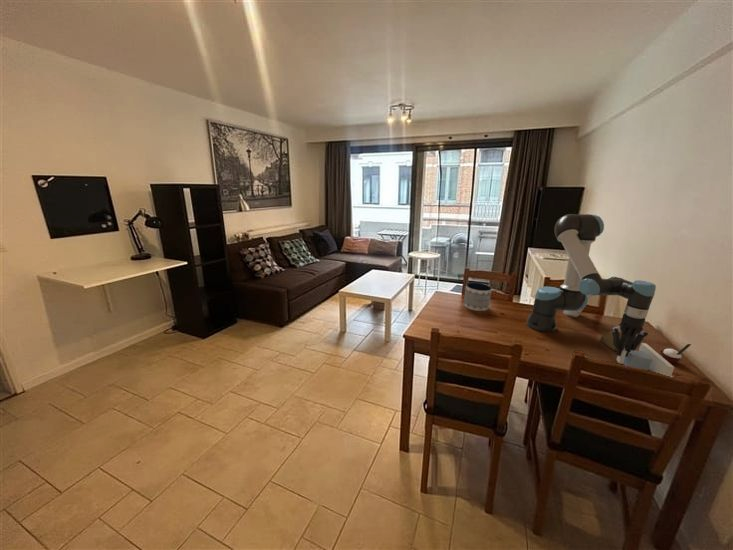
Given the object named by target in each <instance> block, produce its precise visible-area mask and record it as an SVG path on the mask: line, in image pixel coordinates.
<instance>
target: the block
mask: <svg viewBox="0 0 733 550" xmlns="http://www.w3.org/2000/svg"><path fill="white" fill-rule="evenodd" d="M630 351H631V352H629V353H628V356H627V357H625V359H624V362H623V365H624V366H625V367H626V366H629V367H633V368H638V369H645V370H648V371H650V370H649V367H650V365H651V362H652V359H651V358H650V357H649V356H648V355H647V354H646V353H645V352H644V351H639V349H638V350H636V349H635V350H634V351H633V350H630Z"/></svg>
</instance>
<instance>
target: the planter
mask: <svg viewBox="0 0 733 550" xmlns="http://www.w3.org/2000/svg"><path fill="white" fill-rule="evenodd" d="M492 289H493V288H492V287H491V286H490V285H489V284H486V283H481V282H469V283H466V285H465V291H464V299H463V307H464V308H467V309H469V310H471V311H475V312H484V311H487V310H489V308H490V304H491V303H490V301H491V297H492V296H491V295H492Z"/></svg>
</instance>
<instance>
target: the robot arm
mask: <svg viewBox="0 0 733 550" xmlns="http://www.w3.org/2000/svg"><path fill="white" fill-rule="evenodd" d="M604 230H605V224H604V220H603V219H602V218H601V217H600V216H599V215H596V214H585V213H583V214H581V213H580V214H579V213H577V214H575V213H568V214H565V215H563V216H561V217H560V218H559V219H558V220H557V221H556V223H555V225H554V235H555V238H556V240H557V241H558V242H559V243H561V245H562V246H563V248H564V250H565V251H566V254H567V256H568V260H567V266H566V272H565V275H564V281H563V283H562V284H561V285H560V286H559V287H555V286H546V285H545V286H541V287H539V288H538V289H537V290H536V292H535V295H534V297H535V298H534V302H533V307H532V311H531V313H530V315H529V316H528V318H527V319H526V323H525V324H526V325H527V327H529V328H531V329H533V330H536V331H538V332H544V333H552V332H555V331H556V329H557V322H556V314H557V311H560V312H562V311H563V312H564V311H575V310H581V309H583V308H586V306H587V304H588V303H589V302H588V297H587V295H592V296H619V297H621V298H624V299H627V301H626V305H625V308H624V311H623V312H624V313H623V315H622V317H621V320H620V321H621V322H620V323H619V325H617V326H612V327H611V329H612V331H614V346H615V347H616V348H618V350H617V351H616V355H617V356H616V362H617V363H619V364H623V362H624V359H625V357H627V356H628V353H629V352H631V351H630V350H633V351H634V350H636V349H637V348H638V347H639V345H641V343H642V341H643V340H644V338H646V337H647V336H648V335H649V333H648V332H647V331H645V330H644V328H643V327H644V325H645V322H646V318H647V317H648V313H649V310H650V307H651V304H652V301H653V299H654V297H655V292H656V288H657V286H656V284H654V283H653V282H650V281H645V280H639V279H638V280H634V281H633V282H632V281H629V280H627V279H624V278H623V277H618V276H610V277H609V278H602V276H601V274H600V273H599V271H598V270H597V267H596V266H595V264H594V262H593V260H592V259H591V257H590V249H591V246H592V244H593V243H594V242H596V239H597V237H599V236H602V235H601V234H602V233H603V232H604ZM592 296H591V297H592ZM587 302H588V303H587ZM583 310H584V309H583ZM620 332H621V336H620ZM619 338H620V341H619ZM623 365H624V364H623Z"/></svg>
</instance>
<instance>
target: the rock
mask: <svg viewBox="0 0 733 550" xmlns="http://www.w3.org/2000/svg"><path fill="white" fill-rule="evenodd" d="M620 338H621V337H619V341H620ZM600 342H602V343H603V344H604V345H606V346H607V347H608V348H609V349H612V350H613V351H616V352H617V350H618V348H616V347H615V346H614V331H613V330H612V331H609V332H605V333H603V335H602V336H600Z"/></svg>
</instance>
